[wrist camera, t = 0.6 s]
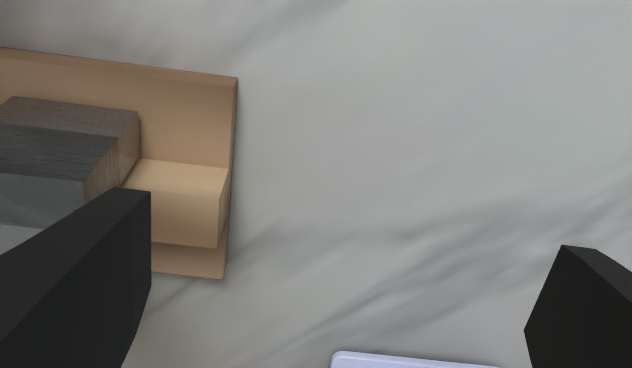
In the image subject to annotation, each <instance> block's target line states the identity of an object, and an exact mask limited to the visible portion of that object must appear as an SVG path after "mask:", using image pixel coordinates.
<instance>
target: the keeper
mask: <svg viewBox="0 0 632 368" xmlns="http://www.w3.org/2000/svg"><path fill="white" fill-rule="evenodd" d="M139 155H140V149H139V120H138V111H132V110H124V109H116V108H108V107H100V106H92V105H84V104H75V103H67V102H59V101H51V100H43V99H35V98H27V97H19V96H12V97H11V98H9V99H8V100H7V101H5V102H4V103H2V104H1V105H0V255H1V254H3V253H5V252H7V251H8V250H10V249H12V248H14V247H16V246H18V245H19V244H21V243H23V242H24V241H26V240H28V239H29V238H31V237H33V236H34V235H36V234H38V233H39V232H41V231H43V230H44V229H46V228H48V227H49V226H51V225H53V224H54V223H56V222H58V221H59V220H61V219H62V218H64V217H66V216H67V215H69V214H70V213H72V212H74V211H75V210H77V209H78V208H80V207H82V206H83V205H85V204H86V203H88V202H90V201H91V200H93V199H94V198H96V197H98V196H99V195H101V194H103V193H104V192H106V191H108V190H110V189H112V188H113V187H121V183H122V181H123V180H124V178H125V177H126V175H127V173H128V172H129V170H130V169H131V167H132V166H133V164H134V163H135V161H136V160H137V158H138V157H139Z"/></svg>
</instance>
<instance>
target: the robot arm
mask: <svg viewBox="0 0 632 368" xmlns="http://www.w3.org/2000/svg"><path fill="white" fill-rule="evenodd" d="M150 288H151V191H144V190H136V189H129V188H121V187H113V188H112V189H110V190H108V191H106V192H104V193H103V194H101V195H99V196H98V197H96V198H94V199H93V200H91V201H90V202H88V203H86V204H85V205H83V206H82V207H80V208H78V209H77V210H75V211H74V212H72V213H70V214H69V215H67V216H66V217H64V218H62V219H61V220H59V221H58V222H56V223H54V224H53V225H51V226H49V227H48V228H46V229H44V230H43V231H41V232H39V233H38V234H36V235H34V236H33V237H31V238H29V239H28V240H26V241H24V242H23V243H21V244H19V245H18V246H16V247H14V248H12V249H10V250H8V251H7V252H5V253H3V254H1V255H0V368H121V366H122V364H123V361H124V359H125V357H126V355H127V353H128V351H129V349H130V346H131V344H132V342H133V340H134V338H135V335H136V332H137V329H138V326H139V323H140V320H141V317H142V314H143V311H144V308H145V304H146V301H147V298H148V295H149V292H150ZM524 334H525V338H526V343H527V347H528V351H529V356H530V360H531V364H532V367H533V368H632V272H631V271H629V270H628V269H626V268H625V267H623V266H622V265H620V264H619V263H617V262H616V261H614V260H613V259H611V258H610V257H608V256H606V255H605V254H603V253H601V252H599V251H598V250H596V249H591V248H583V247H575V246H568V245H561V247H560V250H559V252H558V254H557V256H556V259H555V261H554V263H553V265H552V268H551V270H550V272H549V274H548V277H547V279H546V281H545V283H544V286H543V288H542V290H541V292H540V295H539V297H538V299H537V301H536V304H535V306H534V308H533V310H532V313H531V315H530V317H529V319H528V322H527V324H526V326H525V328H524ZM329 368H499V367H494V366H484V365H474V364H465V363H455V362H445V361H436V360H426V359H417V358H407V357H397V356H388V355H378V354H368V353H359V352H349V351H339V352H336V353H334V354H333V355H332V357H331V362H330V367H329Z"/></svg>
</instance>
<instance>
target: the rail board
mask: <svg viewBox="0 0 632 368" xmlns="http://www.w3.org/2000/svg"><path fill="white" fill-rule="evenodd" d="M237 79H238V78H236V77H228V76H220V75H212V74H204V73H197V72H189V71H181V70H173V69H165V68H158V67H150V66H142V65H134V64H126V63H118V62H111V61H103V60H95V59H87V58H79V57H72V56H64V55H56V54H48V53H40V52H33V51H25V50H17V49H9V48H1V47H0V105H1V104H2V103H4V102H5V101H7V100H8V99H9V98H11V97H12V96H19V97H27V98H35V99H43V100H51V101H59V102H67V103H75V104H84V105H92V106H100V107H108V108H116V109H124V110H132V111H138V120H139V149H140V155H139V157H138V158H137V160H136V161H135V163H134V164H133V166H132V167H131V169H130V170H129V172H128V173H127V175H126V177H125V178H124V180H123V181H122V183H121V188H129V189H136V190H144V191H151V272H160V273H169V274H178V275H187V276H197V277H206V278H215V279H223V275H224V271H225V267H226V262H227V246H228V229H229V212H230V196H231V179H232V162H233V145H234V129H235V112H236V95H237Z"/></svg>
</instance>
